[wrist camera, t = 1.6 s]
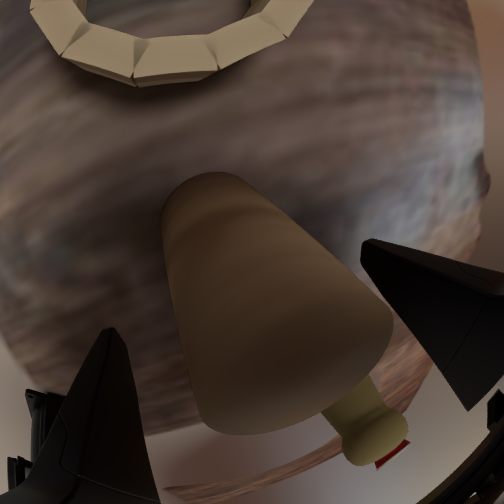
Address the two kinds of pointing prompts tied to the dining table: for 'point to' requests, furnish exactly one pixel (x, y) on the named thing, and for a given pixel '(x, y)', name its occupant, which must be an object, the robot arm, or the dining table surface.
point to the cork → (366, 424)
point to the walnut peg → (263, 309)
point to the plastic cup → (392, 454)
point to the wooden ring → (162, 42)
